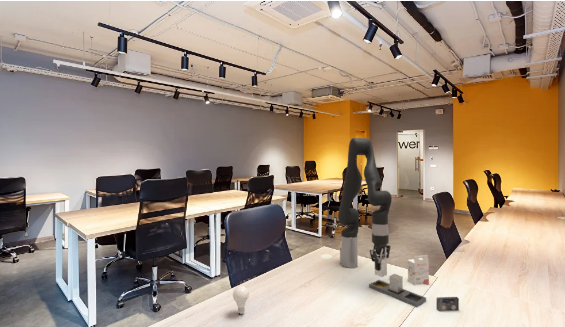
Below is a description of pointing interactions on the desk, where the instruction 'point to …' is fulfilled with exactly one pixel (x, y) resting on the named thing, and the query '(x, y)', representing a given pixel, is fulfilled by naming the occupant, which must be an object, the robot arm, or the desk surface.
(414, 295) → the rail
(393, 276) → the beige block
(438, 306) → the mini dv tape
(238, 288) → the lightbulb
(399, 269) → the desk surface
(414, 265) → the ink cartridge box
